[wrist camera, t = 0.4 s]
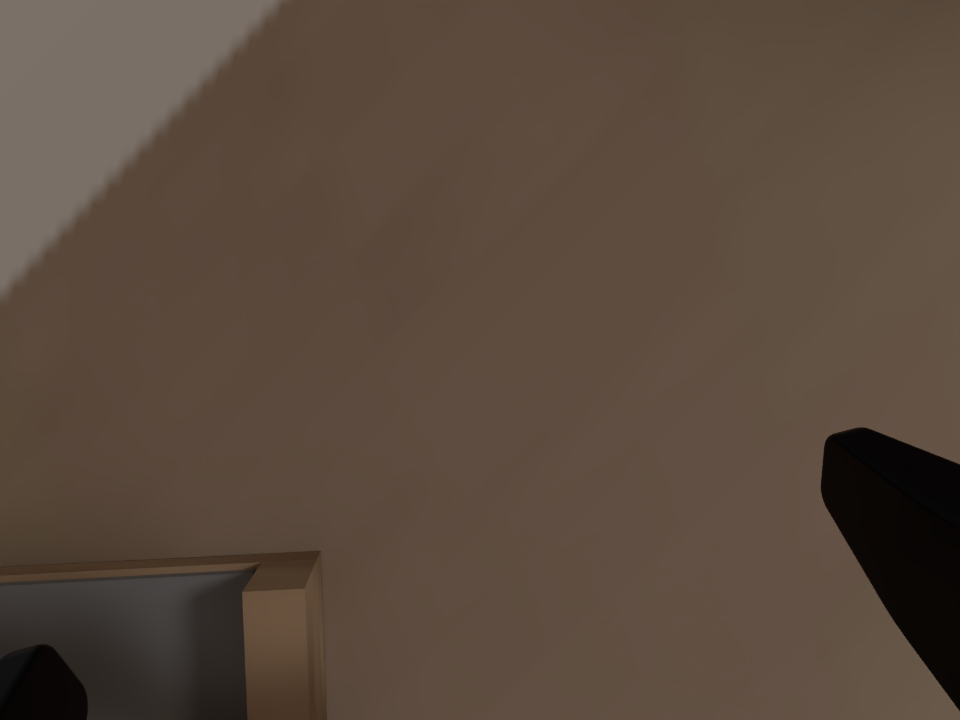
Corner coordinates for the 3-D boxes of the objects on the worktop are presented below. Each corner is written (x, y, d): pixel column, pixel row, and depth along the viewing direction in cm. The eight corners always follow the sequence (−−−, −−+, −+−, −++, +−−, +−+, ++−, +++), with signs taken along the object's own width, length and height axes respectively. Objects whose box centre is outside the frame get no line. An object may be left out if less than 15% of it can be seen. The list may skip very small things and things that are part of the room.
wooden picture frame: (329, 803, 23) (315, 881, 19) (-51, 833, 22) (-131, 921, 19) (320, 550, 22) (304, 588, 19) (-67, 570, 21) (-152, 613, 18)
